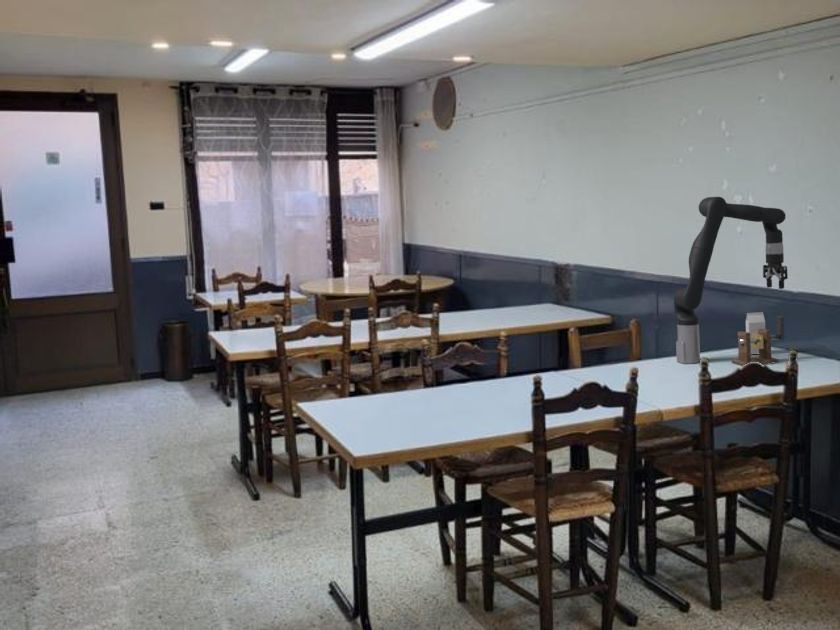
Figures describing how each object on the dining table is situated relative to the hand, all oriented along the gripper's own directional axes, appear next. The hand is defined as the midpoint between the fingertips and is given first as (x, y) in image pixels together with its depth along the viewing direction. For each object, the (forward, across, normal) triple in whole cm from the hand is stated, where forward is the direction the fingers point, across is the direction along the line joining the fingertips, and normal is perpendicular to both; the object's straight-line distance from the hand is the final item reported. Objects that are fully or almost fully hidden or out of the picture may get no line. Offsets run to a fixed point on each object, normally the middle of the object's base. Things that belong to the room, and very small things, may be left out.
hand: (775, 288), depth 385 cm
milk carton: (+30, 0, -11) cm, 31 cm away
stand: (+29, +18, -24) cm, 42 cm away
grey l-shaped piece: (+20, +18, -21) cm, 34 cm away
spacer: (+23, +18, -23) cm, 37 cm away
